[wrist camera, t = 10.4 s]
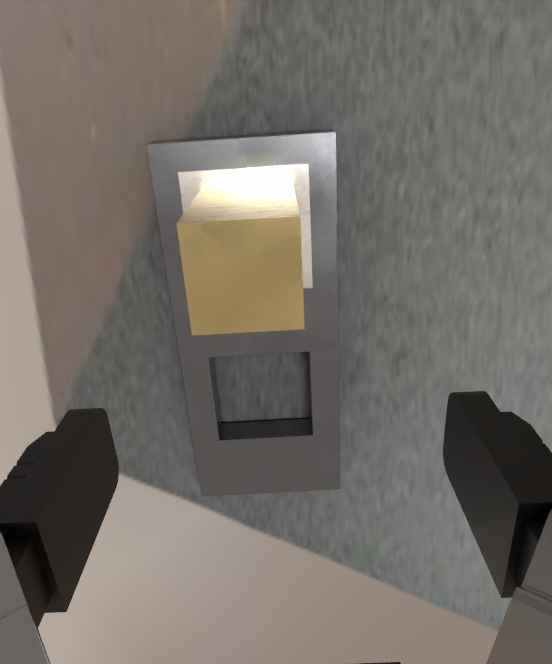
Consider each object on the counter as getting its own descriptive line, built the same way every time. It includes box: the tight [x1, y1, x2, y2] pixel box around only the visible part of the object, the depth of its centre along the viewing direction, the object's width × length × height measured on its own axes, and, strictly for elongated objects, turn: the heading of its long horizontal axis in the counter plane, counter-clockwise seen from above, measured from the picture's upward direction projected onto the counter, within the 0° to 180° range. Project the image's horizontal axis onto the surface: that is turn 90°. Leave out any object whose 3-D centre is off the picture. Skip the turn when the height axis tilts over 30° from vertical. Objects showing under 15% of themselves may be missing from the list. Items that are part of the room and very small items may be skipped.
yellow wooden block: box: [176, 184, 305, 335], centre depth 26 cm, size 5×5×8 cm
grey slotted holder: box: [146, 129, 340, 496], centre depth 33 cm, size 24×10×2 cm, turn 4°
